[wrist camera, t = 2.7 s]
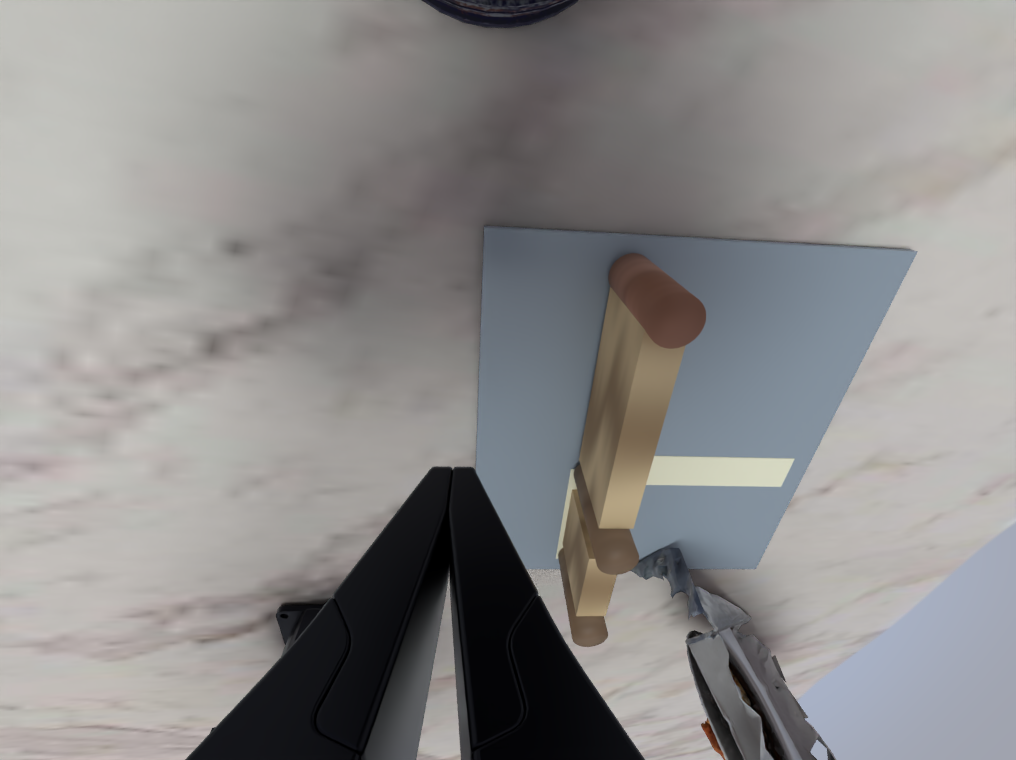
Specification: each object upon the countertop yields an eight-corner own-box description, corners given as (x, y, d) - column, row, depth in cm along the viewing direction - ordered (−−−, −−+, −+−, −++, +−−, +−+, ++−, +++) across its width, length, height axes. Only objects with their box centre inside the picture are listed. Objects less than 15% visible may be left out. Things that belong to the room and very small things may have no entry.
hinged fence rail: (604, 486, 24) (634, 574, 19) (571, 485, 24) (593, 574, 19) (657, 254, 18) (719, 300, 13) (612, 252, 18) (659, 297, 13)
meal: (617, 571, 28) (706, 883, 17) (678, 540, 26) (819, 857, 15) (720, 658, 34) (834, 925, 23) (773, 637, 33) (920, 910, 22)
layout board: (752, 563, 29) (755, 569, 28) (472, 563, 27) (472, 569, 27) (909, 249, 19) (918, 251, 18) (484, 225, 17) (484, 227, 17)
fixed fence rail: (585, 563, 27) (604, 646, 23) (556, 563, 27) (570, 647, 23) (601, 489, 24) (627, 568, 20) (569, 488, 24) (588, 568, 20)
